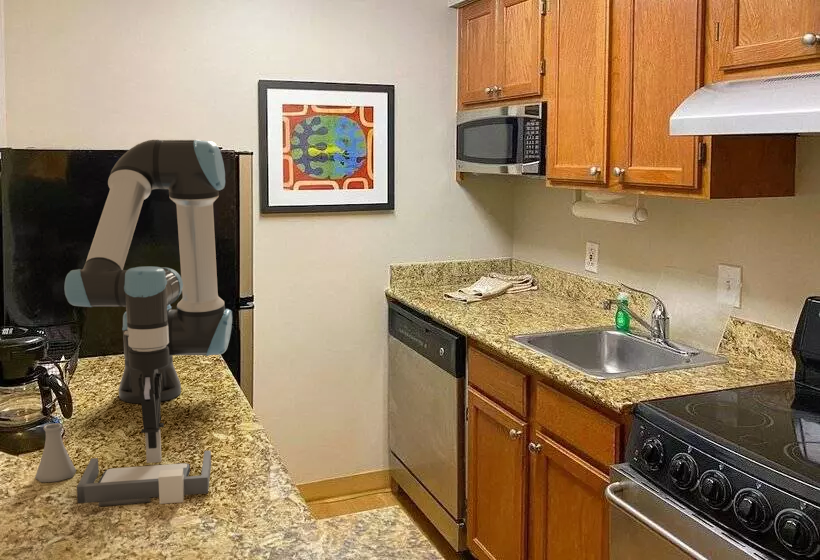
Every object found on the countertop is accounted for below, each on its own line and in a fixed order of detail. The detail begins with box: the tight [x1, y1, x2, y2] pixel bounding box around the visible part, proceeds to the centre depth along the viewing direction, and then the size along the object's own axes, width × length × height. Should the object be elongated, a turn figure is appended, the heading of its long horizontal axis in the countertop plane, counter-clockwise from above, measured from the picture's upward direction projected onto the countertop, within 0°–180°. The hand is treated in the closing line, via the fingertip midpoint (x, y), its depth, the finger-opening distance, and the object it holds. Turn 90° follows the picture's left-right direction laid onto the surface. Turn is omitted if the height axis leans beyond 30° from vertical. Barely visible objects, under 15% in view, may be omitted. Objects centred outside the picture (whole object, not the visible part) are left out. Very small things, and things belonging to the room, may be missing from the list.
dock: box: [76, 450, 212, 507], centre depth 143 cm, size 16×22×5 cm
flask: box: [34, 422, 77, 483], centre depth 147 cm, size 7×7×10 cm
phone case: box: [97, 462, 191, 483], centre depth 146 cm, size 9×2×16 cm
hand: (154, 461), depth 153 cm, fingers closed
